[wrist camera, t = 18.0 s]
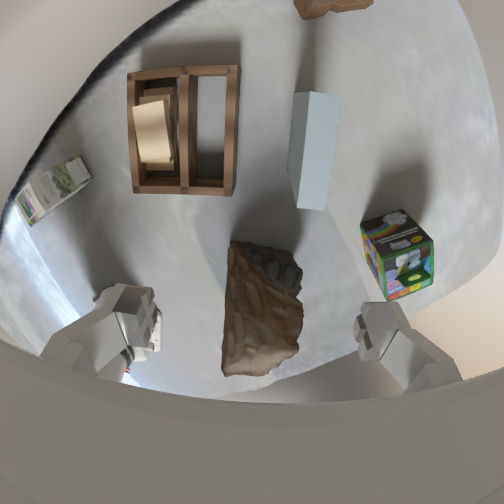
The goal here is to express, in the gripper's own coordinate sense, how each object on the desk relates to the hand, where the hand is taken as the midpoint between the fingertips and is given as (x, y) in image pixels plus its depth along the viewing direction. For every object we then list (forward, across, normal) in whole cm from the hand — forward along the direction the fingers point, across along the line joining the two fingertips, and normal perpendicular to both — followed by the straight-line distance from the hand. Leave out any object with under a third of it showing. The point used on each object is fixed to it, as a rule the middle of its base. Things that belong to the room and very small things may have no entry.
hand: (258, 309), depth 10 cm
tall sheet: (+34, +6, +3) cm, 34 cm away
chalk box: (+34, +24, -13) cm, 43 cm away
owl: (+34, +1, -21) cm, 40 cm away
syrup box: (+34, -33, -4) cm, 48 cm away
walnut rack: (+34, -11, +3) cm, 36 cm away
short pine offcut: (+30, -15, +3) cm, 34 cm away
